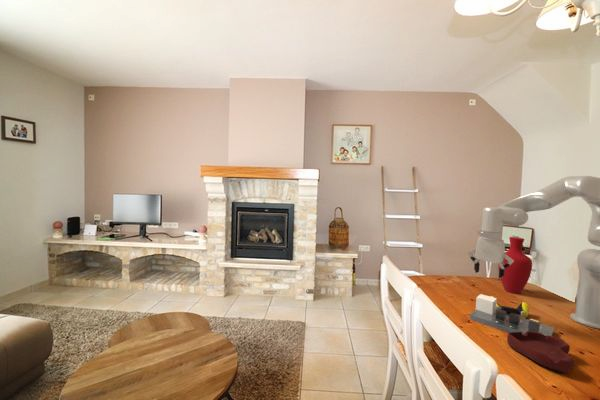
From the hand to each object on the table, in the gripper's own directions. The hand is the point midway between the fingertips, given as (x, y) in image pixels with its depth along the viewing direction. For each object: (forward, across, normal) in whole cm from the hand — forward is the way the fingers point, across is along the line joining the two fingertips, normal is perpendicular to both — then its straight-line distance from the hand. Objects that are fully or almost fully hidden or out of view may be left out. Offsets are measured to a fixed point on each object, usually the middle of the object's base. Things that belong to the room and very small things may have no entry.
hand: (488, 274), depth 120 cm
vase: (+18, +2, +46) cm, 50 cm away
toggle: (+16, +17, -5) cm, 24 cm away
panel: (+18, +10, -4) cm, 21 cm away
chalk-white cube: (+16, 0, 0) cm, 16 cm away
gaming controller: (+18, +6, +10) cm, 22 cm away
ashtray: (+19, +20, -21) cm, 35 cm away
